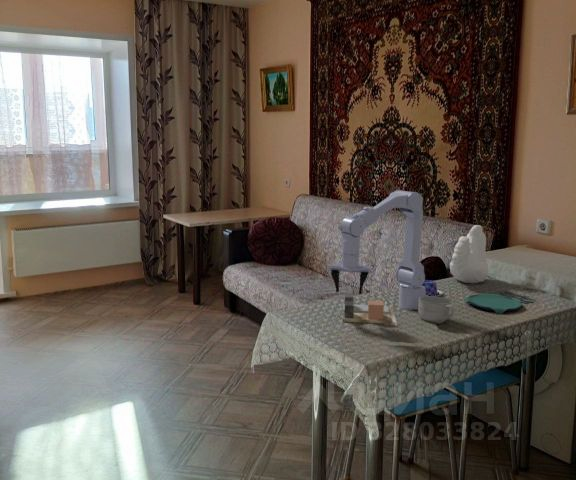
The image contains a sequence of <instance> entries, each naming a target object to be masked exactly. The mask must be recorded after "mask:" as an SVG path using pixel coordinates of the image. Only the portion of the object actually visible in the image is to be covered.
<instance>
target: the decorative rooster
mask: <svg viewBox="0 0 576 480" xmlns="http://www.w3.org/2000/svg"><path fill="white" fill-rule="evenodd" d="M470 228H471V229H470V230H469V232H468V233H467V234H466V236H463V235H461V236H460V237H459V238H458V241H457V243H456V244H455V246H454V249H453V254H452V256H451V262H449V269H450V274H451V275H452V276H453V278H454V279H455V280H457V281H460V282H462V283H465V284H478V283H480V282H481V283H482V282H484V281H486V279H487V278H488V276H489V265H488V260H487V254H486V248H487V247H486V245H487V237H486V234H485V233H484V230H483V229H484V228H483V227H482V225H480V224H479V225H478V224H475V225H473V226H472V227H470Z"/></svg>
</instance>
